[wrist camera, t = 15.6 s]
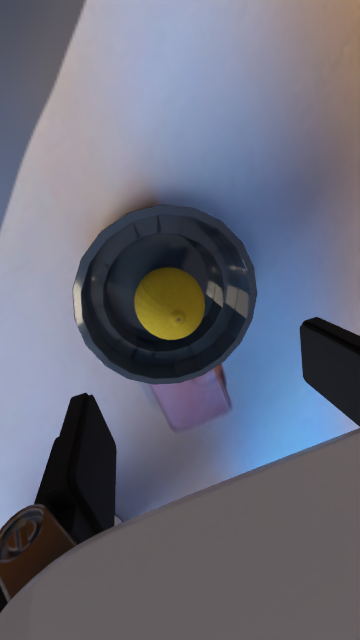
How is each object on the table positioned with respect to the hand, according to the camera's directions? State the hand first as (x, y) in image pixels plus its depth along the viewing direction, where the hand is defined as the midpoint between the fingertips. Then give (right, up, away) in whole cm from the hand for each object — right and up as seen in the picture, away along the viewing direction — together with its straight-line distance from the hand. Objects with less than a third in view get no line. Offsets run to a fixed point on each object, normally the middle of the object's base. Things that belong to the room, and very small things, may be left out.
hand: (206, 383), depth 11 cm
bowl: (-3, +6, +14) cm, 15 cm away
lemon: (-3, +6, +13) cm, 15 cm away
